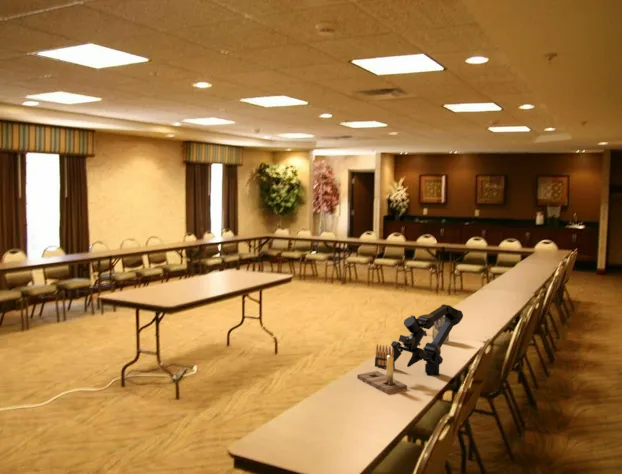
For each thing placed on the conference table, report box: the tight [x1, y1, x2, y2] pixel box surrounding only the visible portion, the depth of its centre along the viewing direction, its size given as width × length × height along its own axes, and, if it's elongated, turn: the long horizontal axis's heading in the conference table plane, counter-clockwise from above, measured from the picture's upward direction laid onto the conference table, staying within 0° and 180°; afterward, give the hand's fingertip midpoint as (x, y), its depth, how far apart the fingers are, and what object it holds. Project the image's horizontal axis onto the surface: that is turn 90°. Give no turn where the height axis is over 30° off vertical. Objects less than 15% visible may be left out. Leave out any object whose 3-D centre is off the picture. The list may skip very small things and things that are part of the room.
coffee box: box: [431, 316, 450, 345], centre depth 349 cm, size 9×6×16 cm
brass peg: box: [385, 355, 394, 386], centre depth 267 cm, size 3×3×16 cm
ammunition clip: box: [374, 344, 396, 370], centre depth 298 cm, size 11×2×12 cm, turn 62°
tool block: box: [356, 370, 408, 395], centre depth 273 cm, size 24×12×2 cm, turn 30°
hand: (400, 364), depth 272 cm, fingers open, 9 cm apart
